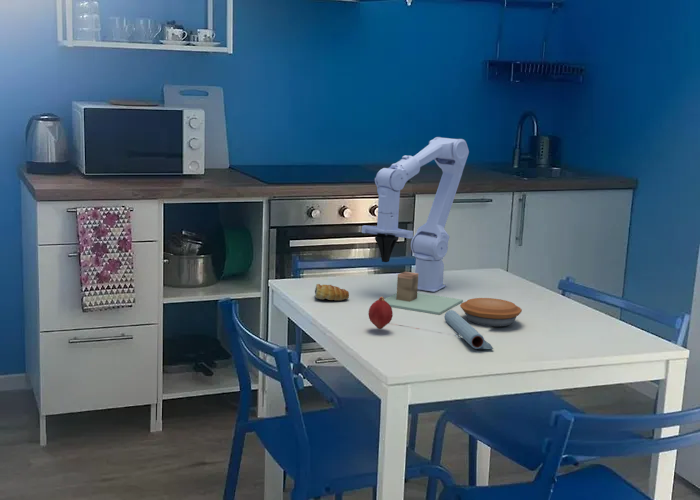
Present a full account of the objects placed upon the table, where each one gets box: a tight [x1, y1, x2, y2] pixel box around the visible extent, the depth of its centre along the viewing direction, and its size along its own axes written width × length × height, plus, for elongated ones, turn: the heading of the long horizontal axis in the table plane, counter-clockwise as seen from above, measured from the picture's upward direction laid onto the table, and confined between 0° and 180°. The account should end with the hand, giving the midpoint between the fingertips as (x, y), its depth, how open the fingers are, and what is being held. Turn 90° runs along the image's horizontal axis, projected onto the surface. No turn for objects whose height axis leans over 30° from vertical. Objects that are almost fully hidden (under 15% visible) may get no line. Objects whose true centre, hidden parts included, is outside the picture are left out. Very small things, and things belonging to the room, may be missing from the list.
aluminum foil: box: [443, 309, 494, 350], centre depth 212 cm, size 23×7×3 cm, turn 9°
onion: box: [367, 296, 394, 330], centre depth 212 cm, size 6×6×8 cm
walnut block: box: [396, 271, 419, 302], centre depth 242 cm, size 5×4×7 cm
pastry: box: [314, 283, 350, 302], centre depth 239 cm, size 9×7×4 cm
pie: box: [459, 297, 523, 327], centre depth 225 cm, size 16×16×5 cm
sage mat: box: [384, 292, 464, 315], centre depth 241 cm, size 18×18×1 cm
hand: (385, 261), depth 244 cm, fingers closed
